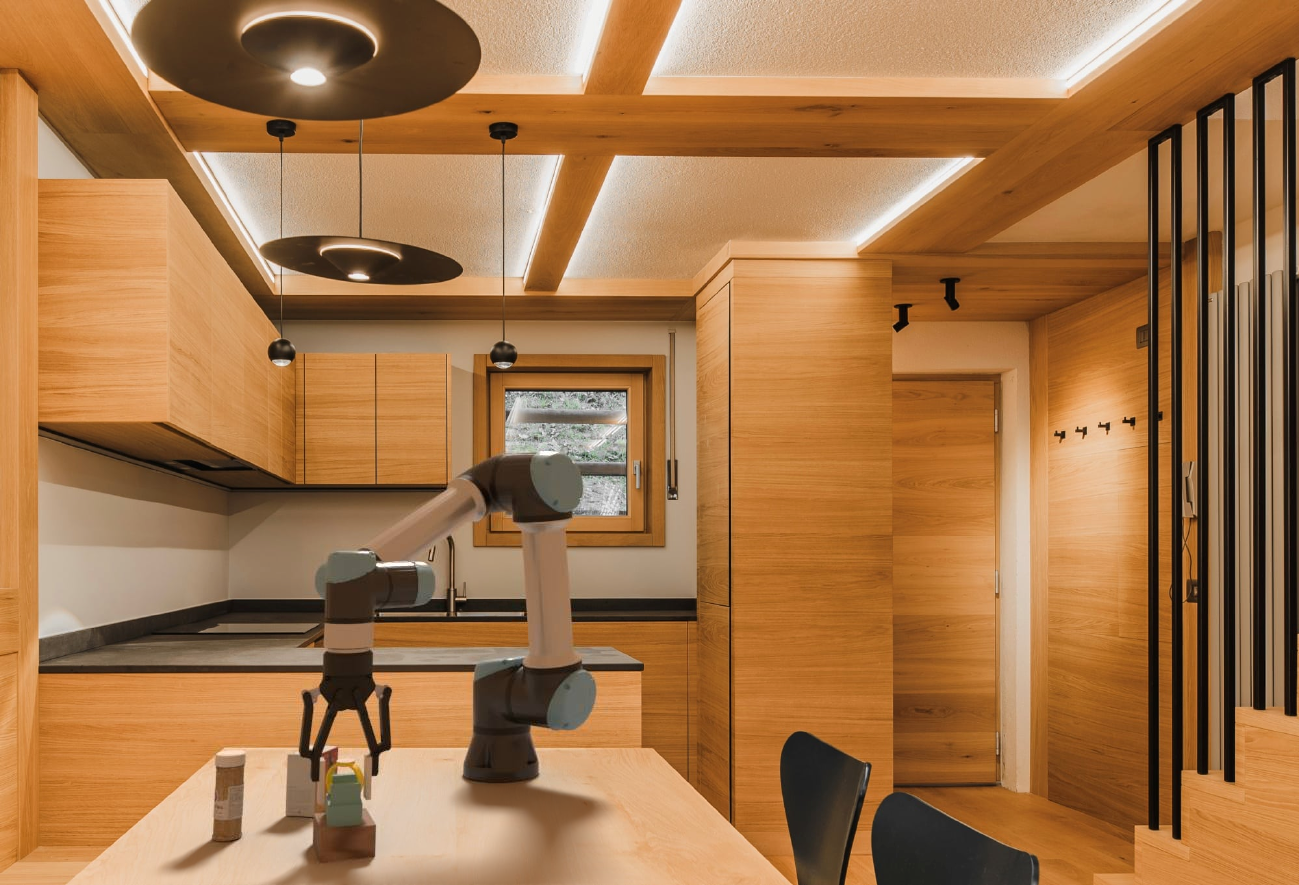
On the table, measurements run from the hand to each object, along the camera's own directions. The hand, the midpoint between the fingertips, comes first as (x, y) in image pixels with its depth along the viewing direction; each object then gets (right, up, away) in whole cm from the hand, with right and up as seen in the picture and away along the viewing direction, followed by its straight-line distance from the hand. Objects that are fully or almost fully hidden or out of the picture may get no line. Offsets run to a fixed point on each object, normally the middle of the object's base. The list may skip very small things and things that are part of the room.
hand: (343, 800), depth 158 cm
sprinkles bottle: (-20, -8, +5) cm, 22 cm away
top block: (0, -3, 0) cm, 3 cm away
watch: (0, 0, 0) cm, 0 cm away
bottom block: (0, -8, -1) cm, 8 cm away
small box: (-12, -9, +20) cm, 25 cm away
